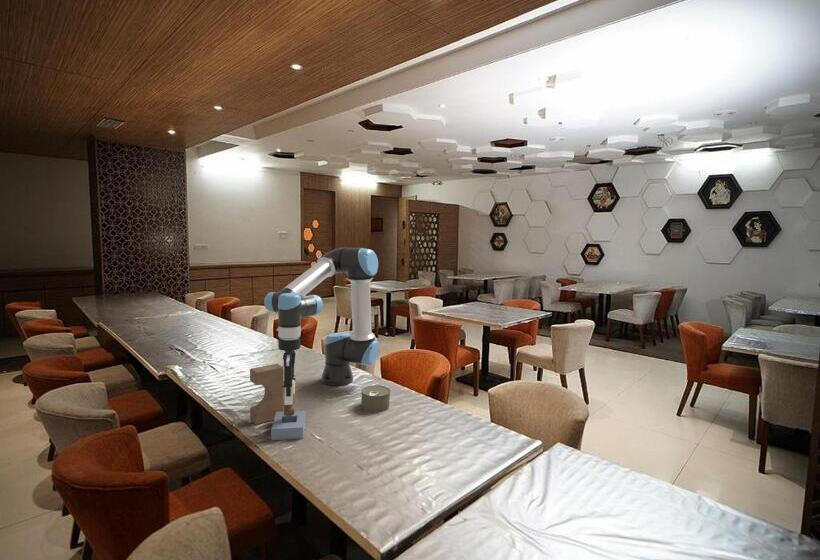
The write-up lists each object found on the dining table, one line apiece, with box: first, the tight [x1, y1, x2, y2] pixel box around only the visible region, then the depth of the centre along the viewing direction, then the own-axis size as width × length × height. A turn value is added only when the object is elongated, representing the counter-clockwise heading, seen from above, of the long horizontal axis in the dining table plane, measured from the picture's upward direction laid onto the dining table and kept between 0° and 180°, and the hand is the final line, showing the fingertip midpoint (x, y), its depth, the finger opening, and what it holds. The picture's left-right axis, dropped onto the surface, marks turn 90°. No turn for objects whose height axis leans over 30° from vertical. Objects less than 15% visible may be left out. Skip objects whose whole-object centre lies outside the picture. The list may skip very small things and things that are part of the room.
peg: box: [283, 380, 296, 416], centre depth 147 cm, size 4×4×12 cm
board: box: [270, 409, 306, 441], centre depth 148 cm, size 10×14×4 cm
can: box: [360, 385, 391, 413], centre depth 171 cm, size 12×12×7 cm
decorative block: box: [249, 363, 284, 425], centre depth 156 cm, size 11×6×20 cm, turn 130°
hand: (289, 401), depth 147 cm, fingers closed on peg, 4 cm apart
